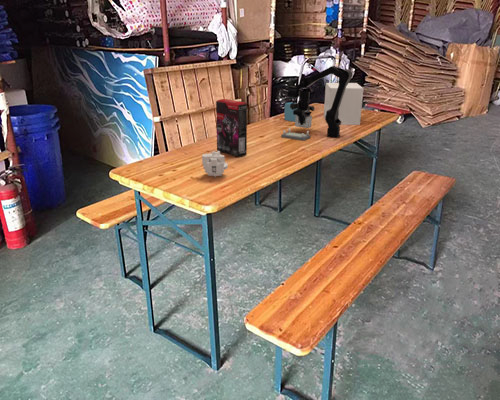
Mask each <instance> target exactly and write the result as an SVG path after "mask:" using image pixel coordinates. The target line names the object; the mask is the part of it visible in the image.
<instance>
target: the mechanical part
mask: <svg viewBox="0 0 500 400" xmlns="http://www.w3.org/2000/svg"><path fill="white" fill-rule="evenodd" d="M201 156H202V157H201V162H202V166H203V169H204V173H206V174H207V176H209V177H213V178H214V179H215V178H217V177H219V176H220V177H223V174H224V173H225V170H227V169H228V166H229V165H228V163H227V162H226V161H225V160H226V159H225V155H223V154H221V152H220V151H217V150H216V151H214V150H213V151H211V152H210V153H203V154H202V155H201Z"/></svg>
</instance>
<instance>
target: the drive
mask: <svg viewBox="0 0 500 400" xmlns="http://www.w3.org/2000/svg"><path fill="white" fill-rule="evenodd" d="M312 117H313V116H312V115H306V116H305V119H304V122H303V125H301V124H300V120H299V117H298V116H297V115H296V116H295V122H294V127H297V128H303V129H310V128H311V127H312Z"/></svg>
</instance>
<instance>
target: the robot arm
mask: <svg viewBox="0 0 500 400" xmlns="http://www.w3.org/2000/svg"><path fill="white" fill-rule="evenodd" d="M330 75H334V76H335V77H337V78H338V83H339V86H338V89H337V92H336V95H335V98H334V101H333V105H332V108H331V109H330V110H328V111H327V112H326V116H325V117H326V118H324V120H325V122H326V124H327V126H328V128H327V132H326V137H329V138H335V139H336V138H339V137H341V134H340V133H341V132H340V131H341V125H340V124H341V121H340V120H339V118H338V115H339V107H340V104H341V101H342V98H343V95H344V92H345V89H346V86H347V85H348V83H351V82H350V81H351V79H352V77H353V72H352V71H351V70H350V69H344V68H340V67H338V66H336V65H331V66H329V67H328V68H326V69H324V70H322V71H319V72H317V73H315V74H313V75H310V76H306V77H303V78H300V80H299V82H298V84H297V86H293V85H289V88H288V90H287V98H290V99H291V98H292V99H299V100H298V101H297V103H296V102H291V104H290V108H291V109H292V110H293V109H296V108H297V109H296V110H294V111H293V115H297V116H298V117H299V120H300V124H301V125H303V122H304V119H305V116H306V115H311V114H312V112H314V111H315V107H314V106H313V105H310V103H311V100H310V93H312V92H313V91H314V89H312V87H310V86H312V85H313V84H314V83H316V82H317V81H319V80H321V79H323V78H326V77H328V76H330ZM295 103H296V104H295ZM311 116H312V115H311Z"/></svg>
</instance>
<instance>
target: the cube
mask: <svg viewBox="0 0 500 400" xmlns="http://www.w3.org/2000/svg"><path fill="white" fill-rule="evenodd" d="M338 86H339V82H325V92H324V108H323V118H324V119H325V118H326V117H325V116H326V112H327V111H328V110H330V109H331V108H332V105H333V101H334V98H335V95H336V92H337V89H338ZM364 90H365V89H364V87H362V86H361V85H360V84H358V82H349V83H348V85H347V86H346V89H345V92H344V95H343V98H342V101H341V104H340V107H339V115H338V118H339V120H340V121H341V124H340V125H339V126H344V125H345V126H360V125H361V118H362V107H363V97H364Z"/></svg>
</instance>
